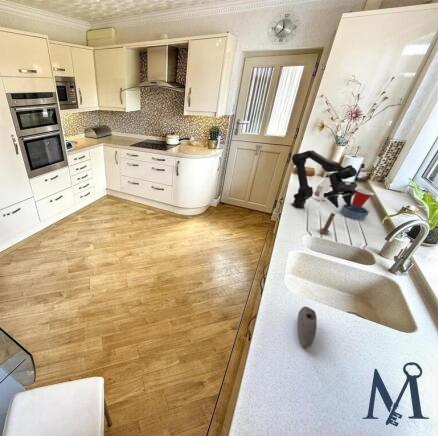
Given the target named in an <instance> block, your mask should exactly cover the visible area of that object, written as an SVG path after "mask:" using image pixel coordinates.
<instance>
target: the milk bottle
mask: <svg viewBox="0 0 438 436" xmlns="http://www.w3.org/2000/svg"><path fill="white" fill-rule="evenodd" d="M326 175H327V173H325V174H324V177H323V178H322V180H320V181H319V183H318V184H317V185H316V186H317V187H316V188H315V191H314V192H313V195H312V198H313V199H314V200H317V201H321V202H322V201H324V200H325V199H326V198H324V196H323V194H324V193H326V192H329V191H330V189H331V187H330V186H329V185H331V183H330V179H329V177H328V178H325V176H326Z"/></svg>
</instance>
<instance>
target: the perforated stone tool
mask: <svg viewBox="0 0 438 436" xmlns="http://www.w3.org/2000/svg"><path fill="white" fill-rule="evenodd" d="M317 320H318V319H317V313H316V311H315V310H314V309H312V308H311V307H309V306H305V305H304V306H303V307H301V308H300V310H299V311H298V314H297V320H296V321H297V322H296V328H297V329H296V330H297V337H298V341H299V344H300V347H301V348H302V349H304V350H307V349H309V348H310V347H311V346H312V344H313V343H314V341H315V337H316V334H317V328H318V327H317V322H318V321H317Z"/></svg>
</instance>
